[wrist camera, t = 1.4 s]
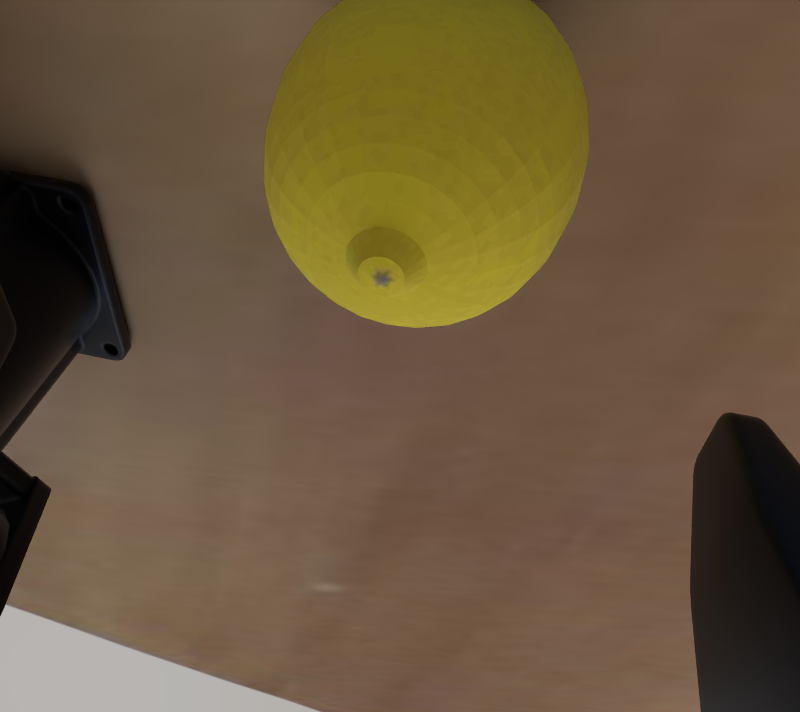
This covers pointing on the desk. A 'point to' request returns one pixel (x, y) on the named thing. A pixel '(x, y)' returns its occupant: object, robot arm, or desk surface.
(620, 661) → the desk surface
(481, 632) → the desk surface
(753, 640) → the robot arm
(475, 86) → the lemon
